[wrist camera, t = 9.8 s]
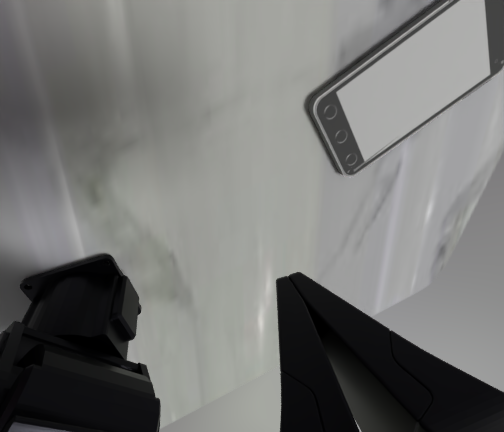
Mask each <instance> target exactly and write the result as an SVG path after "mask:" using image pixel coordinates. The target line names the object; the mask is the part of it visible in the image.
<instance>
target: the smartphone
mask: <svg viewBox="0 0 504 432" xmlns="http://www.w3.org/2000/svg"><path fill="white" fill-rule="evenodd" d="M503 69H504V0H441V1H440V2H439V3H437V4H436V5H435V6H433V7H432V8H431V9H429V10H428V11H427V12H425V13H424V14H423V15H421V16H420V17H419V18H417V19H416V20H415V21H413V22H412V23H411V24H409V25H408V26H407V27H405V28H404V29H402V30H401V31H400V32H398V33H397V34H396V35H394V36H393V37H392V38H390V39H389V40H388V41H386V42H385V43H384V44H382V45H381V46H380V47H378V48H377V49H376V50H374V51H373V52H372V53H370V54H369V55H368V56H366V57H365V58H364V59H362V60H361V61H360V62H358V63H357V64H356V65H354V66H353V67H352V68H350V69H349V70H348V71H346V72H345V73H344V74H342V75H341V76H340V77H338V78H337V79H336V80H334V81H333V82H332V83H330V84H329V85H328V86H326V87H325V88H324V89H322V90H321V91H320V92H318V93H317V94H315V95H314V96H313V97H312V99H311V100H310V103H309V112H310V114H311V116H312V118H313V120H314V122H315V125H316V127H317V129H318V131H319V133H320V135H321V137H322V139H323V141H324V143H325V145H326V147H327V149H328V151H329V153H330V155H331V157H332V159H333V161H334V163H335V165H336V167H337V169H338V171H339V173H341V174H342V175H344V176H345V177H347V178H352V177H354V176H356V175H357V174H359V173H360V172H361V171H363V170H364V169H366V168H367V167H368V166H370V165H371V164H373V163H374V162H376V161H377V160H378V159H380V158H381V157H383V156H384V155H385V154H387V153H388V152H390V151H391V150H392V149H394V148H395V147H397V146H398V145H399V144H401V143H402V142H404V141H405V140H407V139H408V138H409V137H411V136H412V135H414V134H415V133H416V132H418V131H419V130H421V129H422V128H423V127H425V126H426V125H428V124H429V123H430V122H432V121H433V120H435V119H436V118H438V117H439V116H440V115H442V114H443V113H445V112H446V111H447V110H449V109H450V108H452V107H453V106H454V105H456V104H457V103H459V102H460V101H461V100H463V99H464V98H466V97H467V96H469V95H470V94H471V93H473V92H474V91H476V90H477V89H478V88H480V87H481V86H483V85H484V84H485V83H487V82H488V81H490V80H491V79H492V78H494V77H495V76H497V75H498V74H499V73H501V72H502V70H503Z"/></svg>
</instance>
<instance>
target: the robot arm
mask: <svg viewBox="0 0 504 432" xmlns="http://www.w3.org/2000/svg"><path fill="white" fill-rule="evenodd" d="M104 261H108V262H109V263H105V262H104ZM27 284H29V285H31V286H28V285H27ZM20 288H21V290H22V291H23V292H24V293H25V295H26V296H27V297H28V298H29V299H30V300H31V301H32V303H31V305H30V307H29V309H28V311H27V313H26V315H25V317H24V318H23V320H22V322H21V323H20V322H17V321H14V322H13V323H12V324H11V325H10V326H9V327H8V328H7V329H6V330H5V331H3V332H2V333H1V334H0V432H159V427H160V409H161V404H160V399H159V398H156V397H155V393H154V389H153V385H152V382H151V380H150V377H149V373H148V370H147V366H146V365H144V364H141V363H138V364H136V363H133V362H130V361H127V352H128V343H129V341H130V340H133V339H134V338H135V336H136V327H137V316H138V315H139V314H140V313H141V305H140V304H139V296H138V294H137V293H136V291H135V289H134V287H133V286H132V284H131V282H130V280H129V278H128V277H127V276H125V275H123V274H122V272H121V270H120V269H119V267H118V265H117V263H116V262H115V260H114V258H113V257H112V256H110V255H104V256H101V257H97V258H94V259H90V260H87V261H84V262H80V263H77V264H73V265H70V266H67V267H63V268H60V269H57V270H53V271H50V272H46V273H43V274H40V275H36V276H33V277H30V278H26V279H24V280H23V281H22V283H21V285H20ZM276 290H277V310H278V331H279V351H280V371H281V374H280V375H281V423H280V432H359V429H358V427H357V424H358V425H359V427H360V429H361V431H362V432H504V392H502V391H500V390H498V389H496V388H494V387H492V386H490V385H488V384H486V383H484V382H483V381H481V380H479V379H477V378H475V377H473V376H471V375H469V374H467V373H466V372H463V371H462V370H460V369H458V368H456V367H454V366H452V365H450V364H448V363H446V362H445V361H443V360H441V359H439V358H437V357H435V356H433V355H432V354H430V353H428V352H426V351H424V350H423V349H420V348H419V347H418V346H416V345H414V344H413V343H411V342H409V341H408V340H406V339H404V338H403V337H401V336H400V335H398V334H396V333H395V332H393V331H390V330H389V328H387V327H385V326H383V325H382V324H381V323H379V322H378V321H376V320H374V319H373V318H371V317H370V316H368V315H367V314H365V313H363V312H362V311H360V310H359V309H357V308H356V307H354V306H352V305H351V304H349V303H348V302H346V301H345V300H343V299H342V298H340V297H338V296H337V295H335V294H334V293H332V292H331V291H329V290H327V289H326V288H324V287H323V286H321V285H320V284H318V283H316V282H315V281H313V280H312V279H310V278H309V277H307V276H305V275H304V274H302V273H301V272H296V273H293V274H290V275H289V276H284V277H281V278H278V279H277V280H276ZM354 419H355V420H356V422H357V424H356V422H355V420H354Z"/></svg>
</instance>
